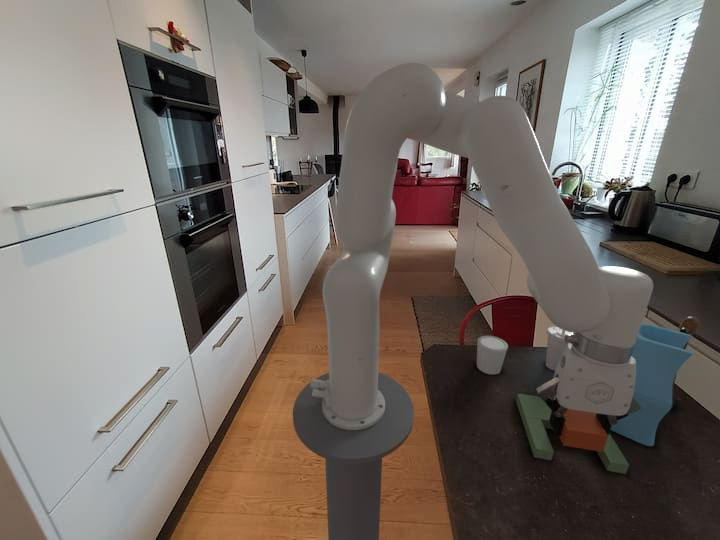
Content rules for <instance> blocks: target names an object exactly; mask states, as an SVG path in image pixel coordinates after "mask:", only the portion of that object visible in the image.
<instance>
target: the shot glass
mask: <svg viewBox="0 0 720 540" xmlns="http://www.w3.org/2000/svg"><path fill="white" fill-rule="evenodd" d="M476 345H477V346H476V367H477V369H478V370H479V371H480V372H482V373H484V374H487V375H494V376H495V375H498V374H500V373H501V371H502V367H503V365H504V361H505V358H506V354H507V352H508V348H509V345H508V343H507V342H506V340H503V339H502V338H500V337H497V336H494V335H482V336H480V337H478V339H477V344H476Z"/></svg>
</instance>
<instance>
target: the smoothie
mask: <svg viewBox="0 0 720 540" xmlns="http://www.w3.org/2000/svg"><path fill="white" fill-rule="evenodd" d="M573 333H574V332H569V331H565V330H563V329H561V328H559V327H557V326H556V325H554V326H553V325H552V326H549V327H547V331H546V335H547V343H546V357H545V366H546V367H547V368H548V369H549V370H551V371H554V372H555V371H556V368H557V365H558V362H559V360H560V358H561V356H562V354H563V352H564V350H565V348H566V347H567V345H568V343H567V342H565V339H564V337H565V334H573Z"/></svg>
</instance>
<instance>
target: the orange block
mask: <svg viewBox="0 0 720 540" xmlns="http://www.w3.org/2000/svg"><path fill="white" fill-rule="evenodd" d="M564 417H565V423H564V426H563V429H562V433H561V435H560V436H558V437H559V440H560V441H561V444H562V446H563V447H570V448H576V449H583V450H588V451H595V452H597V451H600V452H603V450H604V447H605V444H606V441H607V438H608V435H607V433H606V431H605V430H604V428H603V427H602V425H601V423H600V422H599V420H598V419H597V417H596V415H595V413H592V412H585V411H578V410H572V409H568V410H567V411H566V413H565V414H564Z"/></svg>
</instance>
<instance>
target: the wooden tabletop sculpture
mask: <svg viewBox="0 0 720 540" xmlns="http://www.w3.org/2000/svg"><path fill="white" fill-rule="evenodd" d="M700 326H701V323H700V320H699V319H698V318H697V317H695V316H688V317H684V318H683V319H682V320H681V321H680V324H679V329H678V330H679V332H682V333H685V334H689V335H691V337H692V336H693V335H695V334H697V333H698V331H699V329H700ZM689 342H690V340H689V341H688V342H687V343H686V344H685V346H684V347H683V348H682V349H685V350H687V347H688V344H689ZM677 374H678V372H677V373H676V375H675V377H674V381H673V386H672V407H671V409H673V408H674V407H675V406H676V404H677V396H676V394H675V393H674V389H675V382H676V379H677Z"/></svg>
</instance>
